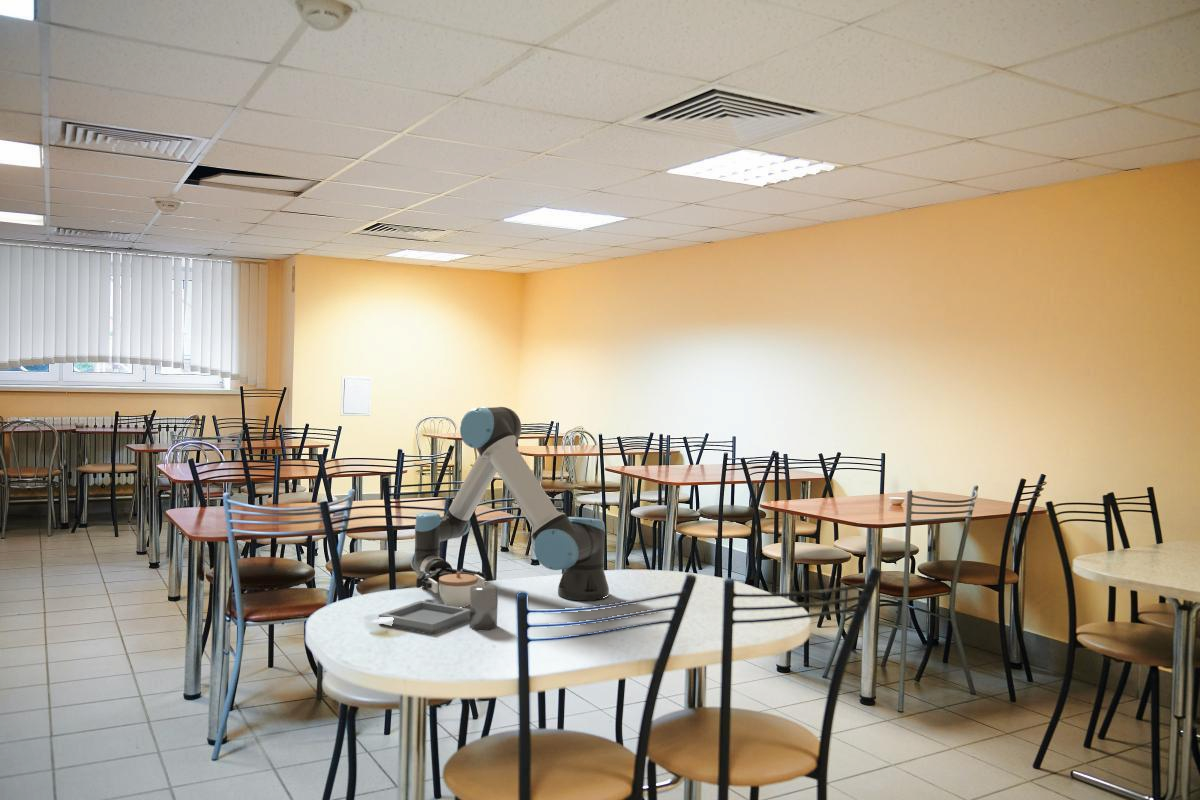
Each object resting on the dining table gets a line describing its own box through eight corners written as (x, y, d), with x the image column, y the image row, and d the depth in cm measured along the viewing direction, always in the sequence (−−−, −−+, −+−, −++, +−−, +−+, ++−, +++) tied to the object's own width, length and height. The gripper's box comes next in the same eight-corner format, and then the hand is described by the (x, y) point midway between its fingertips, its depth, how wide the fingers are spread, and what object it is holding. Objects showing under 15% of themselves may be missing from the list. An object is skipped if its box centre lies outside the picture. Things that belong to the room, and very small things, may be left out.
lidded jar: (480, 601, 250) (481, 569, 250) (471, 611, 239) (472, 577, 239) (444, 599, 251) (444, 567, 251) (433, 609, 241) (434, 575, 240)
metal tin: (502, 625, 226) (503, 587, 226) (486, 632, 220) (488, 592, 220) (479, 621, 229) (480, 583, 229) (463, 627, 223) (464, 588, 223)
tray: (472, 618, 232) (472, 609, 232) (432, 634, 216) (432, 624, 216) (420, 609, 239) (420, 600, 239) (378, 624, 224) (378, 614, 224)
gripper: (475, 579, 268) (502, 595, 249) (394, 586, 256) (416, 603, 237) (476, 555, 268) (502, 569, 249) (395, 561, 256) (416, 576, 237)
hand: (460, 586), depth 243 cm, fingers open, 13 cm apart
